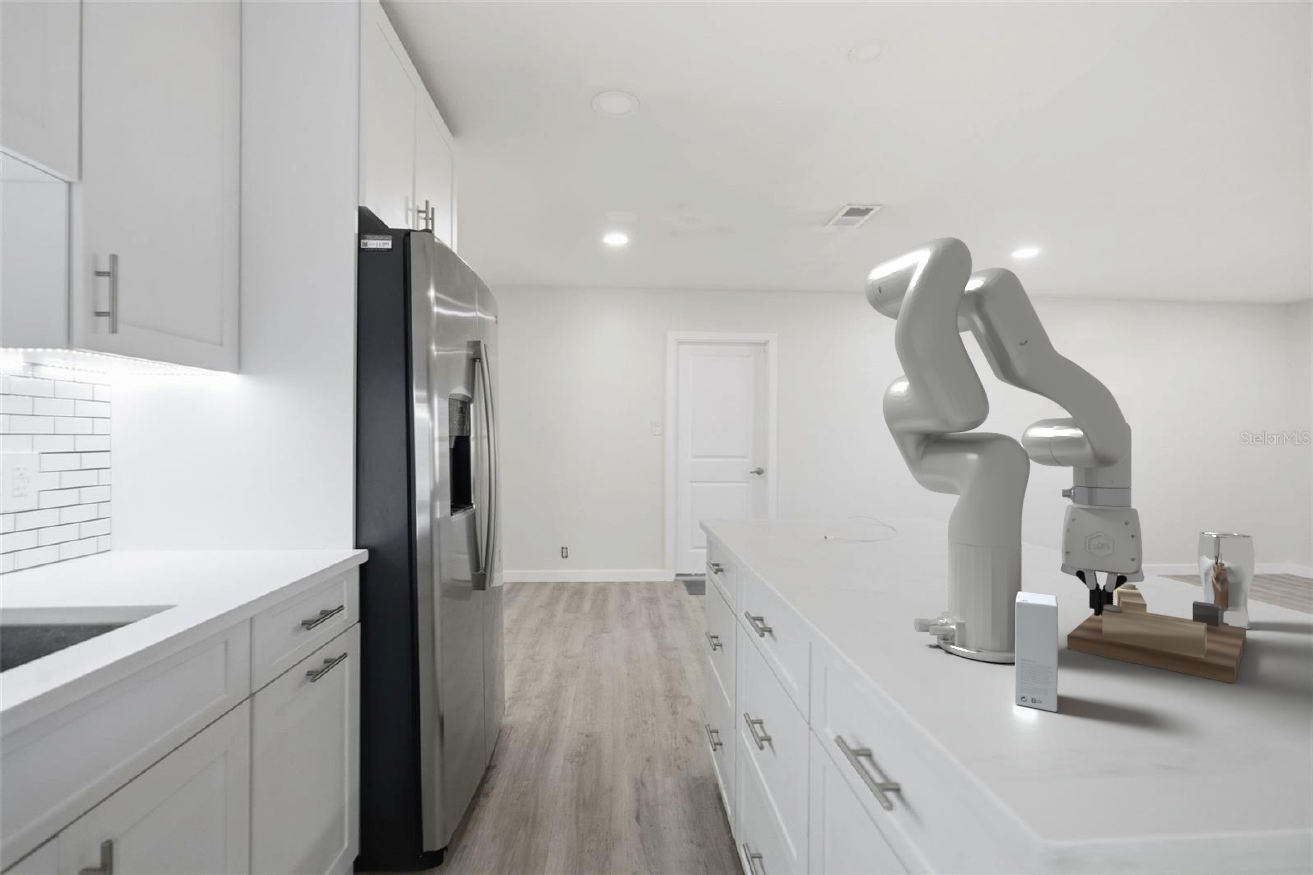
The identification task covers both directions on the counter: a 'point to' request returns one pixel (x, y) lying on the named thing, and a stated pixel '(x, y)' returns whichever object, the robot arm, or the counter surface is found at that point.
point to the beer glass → (1227, 574)
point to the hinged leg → (1130, 598)
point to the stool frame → (1165, 640)
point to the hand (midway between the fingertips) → (1101, 614)
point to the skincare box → (1036, 650)
